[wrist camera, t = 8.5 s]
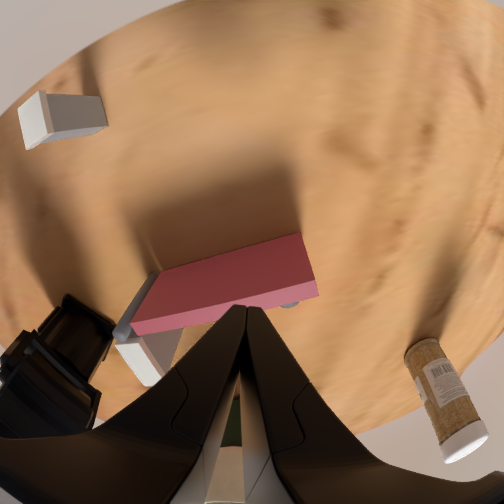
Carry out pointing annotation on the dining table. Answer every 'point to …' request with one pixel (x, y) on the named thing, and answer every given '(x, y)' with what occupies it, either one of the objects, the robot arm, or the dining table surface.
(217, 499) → the character mug
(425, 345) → the sprinkles bottle
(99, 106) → the pair of grey plates
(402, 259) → the dining table surface
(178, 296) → the door
